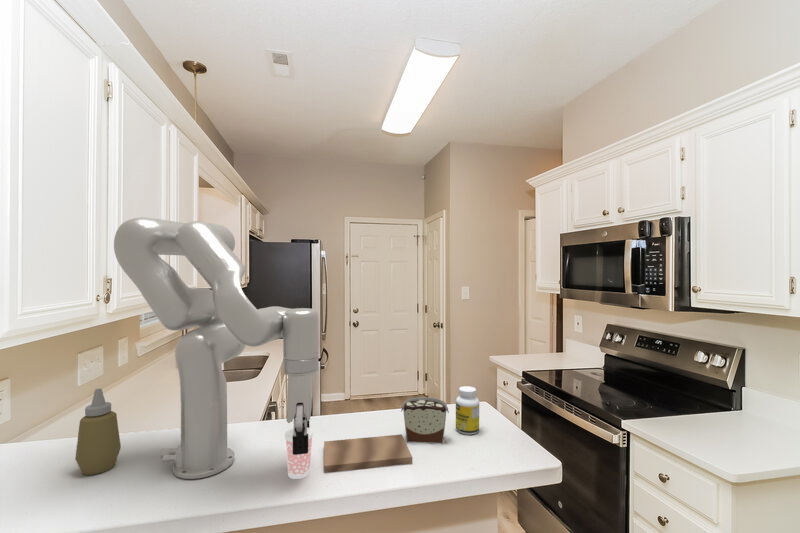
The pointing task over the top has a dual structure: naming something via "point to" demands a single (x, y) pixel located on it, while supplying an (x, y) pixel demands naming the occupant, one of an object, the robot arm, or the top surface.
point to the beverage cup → (298, 457)
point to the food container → (424, 420)
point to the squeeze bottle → (98, 437)
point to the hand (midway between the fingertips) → (301, 445)
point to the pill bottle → (467, 411)
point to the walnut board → (365, 453)
